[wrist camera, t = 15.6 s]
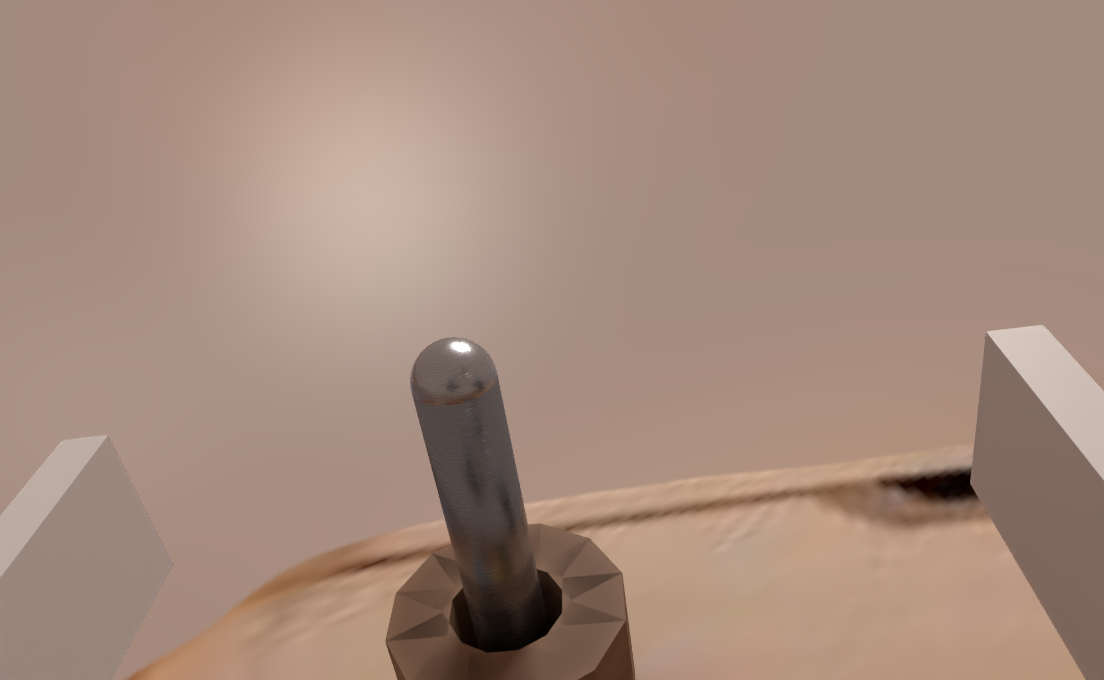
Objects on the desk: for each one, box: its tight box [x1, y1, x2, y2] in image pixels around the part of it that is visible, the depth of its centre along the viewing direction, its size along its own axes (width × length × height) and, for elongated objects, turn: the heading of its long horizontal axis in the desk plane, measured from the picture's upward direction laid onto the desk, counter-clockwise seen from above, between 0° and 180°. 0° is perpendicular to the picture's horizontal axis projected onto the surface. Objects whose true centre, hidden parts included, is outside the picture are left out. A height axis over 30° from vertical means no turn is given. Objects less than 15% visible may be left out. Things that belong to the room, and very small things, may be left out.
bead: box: [385, 524, 635, 680], centre depth 38 cm, size 10×10×6 cm
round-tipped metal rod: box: [410, 337, 549, 653], centre depth 35 cm, size 3×3×18 cm
